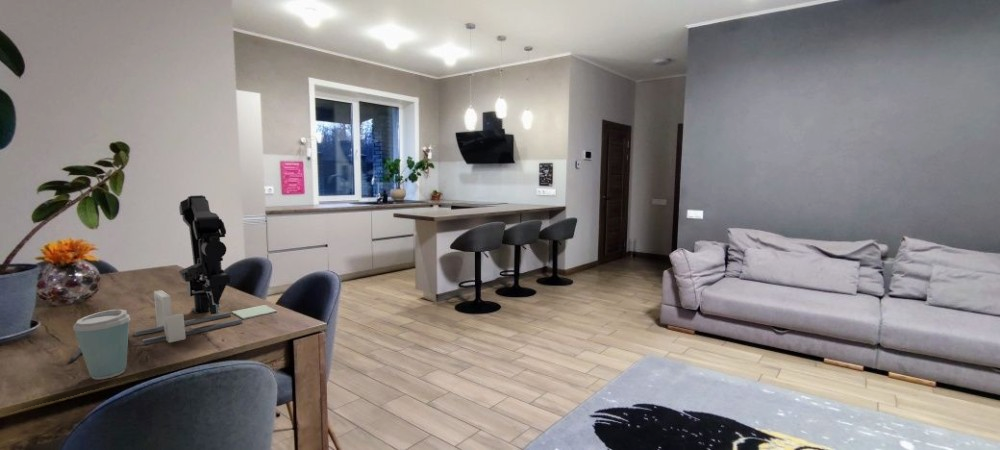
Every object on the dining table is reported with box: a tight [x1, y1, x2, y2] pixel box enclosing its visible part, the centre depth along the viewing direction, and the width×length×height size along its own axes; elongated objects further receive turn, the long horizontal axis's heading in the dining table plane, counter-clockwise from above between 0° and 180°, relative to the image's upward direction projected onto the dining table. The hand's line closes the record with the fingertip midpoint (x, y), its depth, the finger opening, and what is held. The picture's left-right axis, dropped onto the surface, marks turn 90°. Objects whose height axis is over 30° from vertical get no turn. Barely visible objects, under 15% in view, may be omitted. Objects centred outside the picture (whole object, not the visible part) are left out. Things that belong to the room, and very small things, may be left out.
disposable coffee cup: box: [72, 309, 131, 380], centre depth 111 cm, size 11×11×15 cm
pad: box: [231, 304, 278, 320], centre depth 162 cm, size 11×11×1 cm
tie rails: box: [134, 311, 243, 346], centre depth 145 cm, size 13×26×1 cm, turn 137°
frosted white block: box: [153, 289, 186, 343], centre depth 137 cm, size 20×4×11 cm, turn 47°
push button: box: [202, 283, 221, 316], centre depth 150 cm, size 7×5×10 cm
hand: (213, 302), depth 150 cm, fingers closed on push button, 4 cm apart
